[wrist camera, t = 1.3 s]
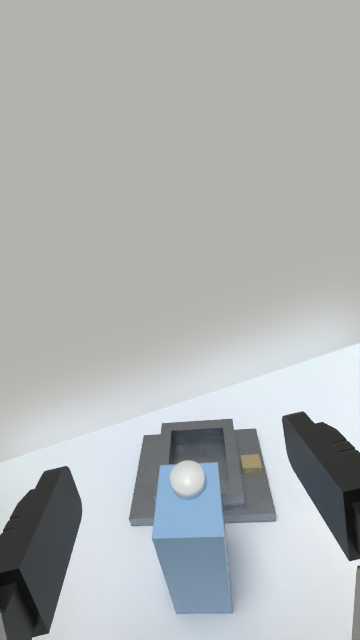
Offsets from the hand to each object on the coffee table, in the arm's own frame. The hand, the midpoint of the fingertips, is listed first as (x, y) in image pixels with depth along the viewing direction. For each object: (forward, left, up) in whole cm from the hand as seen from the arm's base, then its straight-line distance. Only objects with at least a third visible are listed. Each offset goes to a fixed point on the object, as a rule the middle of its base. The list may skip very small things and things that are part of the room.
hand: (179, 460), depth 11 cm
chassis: (-1, +14, -21) cm, 26 cm away
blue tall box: (-1, +5, -21) cm, 22 cm away
